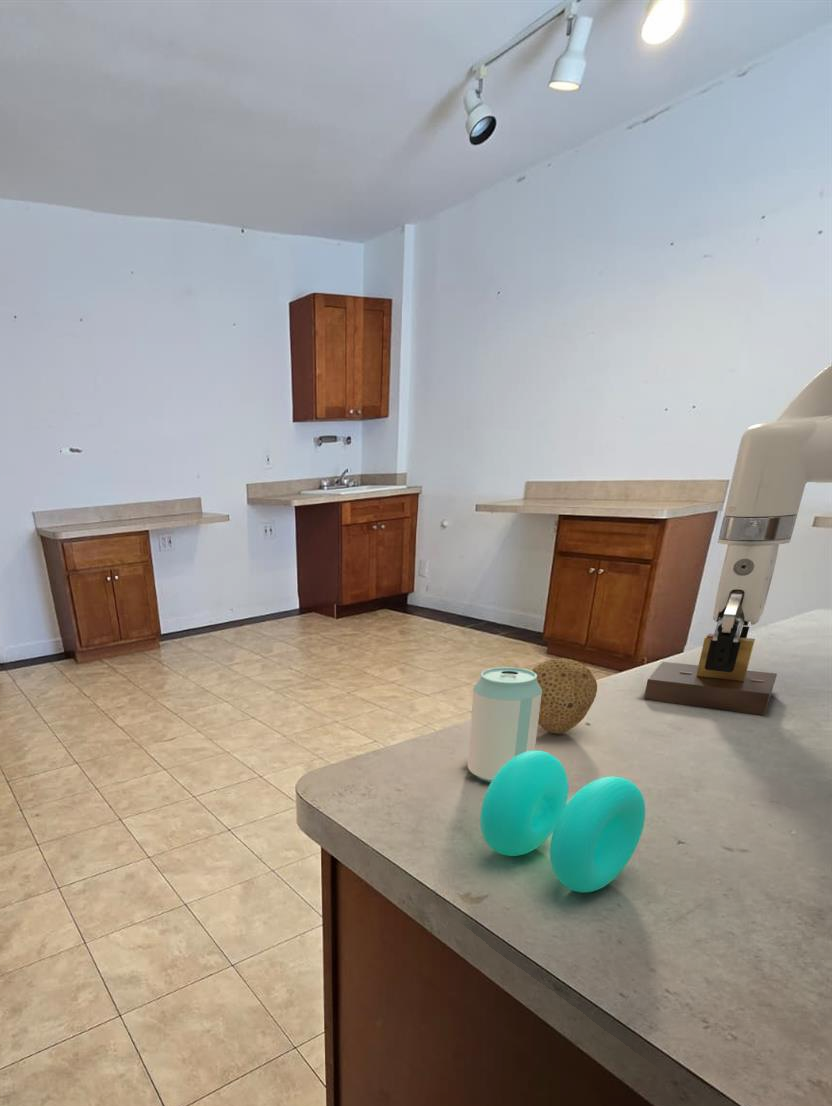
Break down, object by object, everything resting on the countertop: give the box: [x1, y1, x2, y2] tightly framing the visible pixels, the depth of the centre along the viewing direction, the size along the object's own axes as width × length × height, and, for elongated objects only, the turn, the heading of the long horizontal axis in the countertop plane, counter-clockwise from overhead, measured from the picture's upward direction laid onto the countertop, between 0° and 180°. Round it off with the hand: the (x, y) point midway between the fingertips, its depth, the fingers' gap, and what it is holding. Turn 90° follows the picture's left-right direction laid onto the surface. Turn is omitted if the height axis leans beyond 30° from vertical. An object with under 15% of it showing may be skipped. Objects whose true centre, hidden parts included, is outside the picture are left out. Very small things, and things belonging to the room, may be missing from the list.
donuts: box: [479, 749, 646, 893], centre depth 55 cm, size 10×10×10 cm
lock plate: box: [643, 661, 778, 716], centre depth 91 cm, size 14×10×3 cm
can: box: [467, 666, 542, 783], centre depth 72 cm, size 7×7×12 cm
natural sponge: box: [530, 657, 598, 735], centre depth 82 cm, size 9×9×10 cm
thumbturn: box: [696, 633, 756, 681], centre depth 88 cm, size 6×2×6 cm, turn 50°
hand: (723, 661), depth 89 cm, fingers open, 8 cm apart
